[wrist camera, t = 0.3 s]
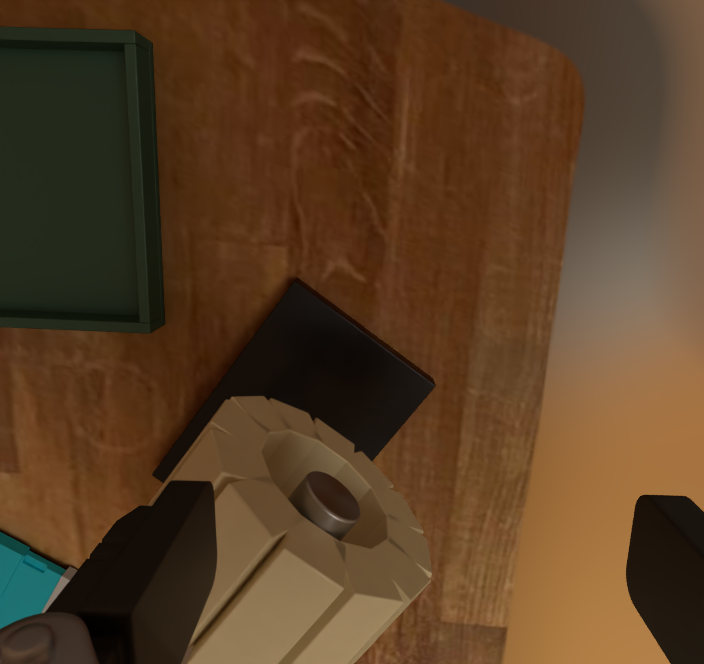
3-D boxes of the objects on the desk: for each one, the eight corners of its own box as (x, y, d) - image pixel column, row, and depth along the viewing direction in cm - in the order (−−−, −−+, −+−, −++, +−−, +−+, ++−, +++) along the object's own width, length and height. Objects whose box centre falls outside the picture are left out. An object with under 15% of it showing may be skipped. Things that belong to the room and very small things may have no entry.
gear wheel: (247, 368, 22) (172, 473, 13) (419, 490, 23) (446, 658, 14) (184, 453, 23) (79, 599, 14) (352, 567, 24) (341, 764, 15)
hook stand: (297, 277, 32) (194, 387, 14) (434, 379, 33) (507, 607, 15) (158, 466, 35) (-76, 761, 17) (287, 553, 37) (199, 918, 18)
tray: (-130, 34, 30) (-170, 21, 28) (152, 42, 30) (134, 30, 27) (-87, 313, 34) (-120, 322, 31) (165, 324, 33) (150, 334, 31)
